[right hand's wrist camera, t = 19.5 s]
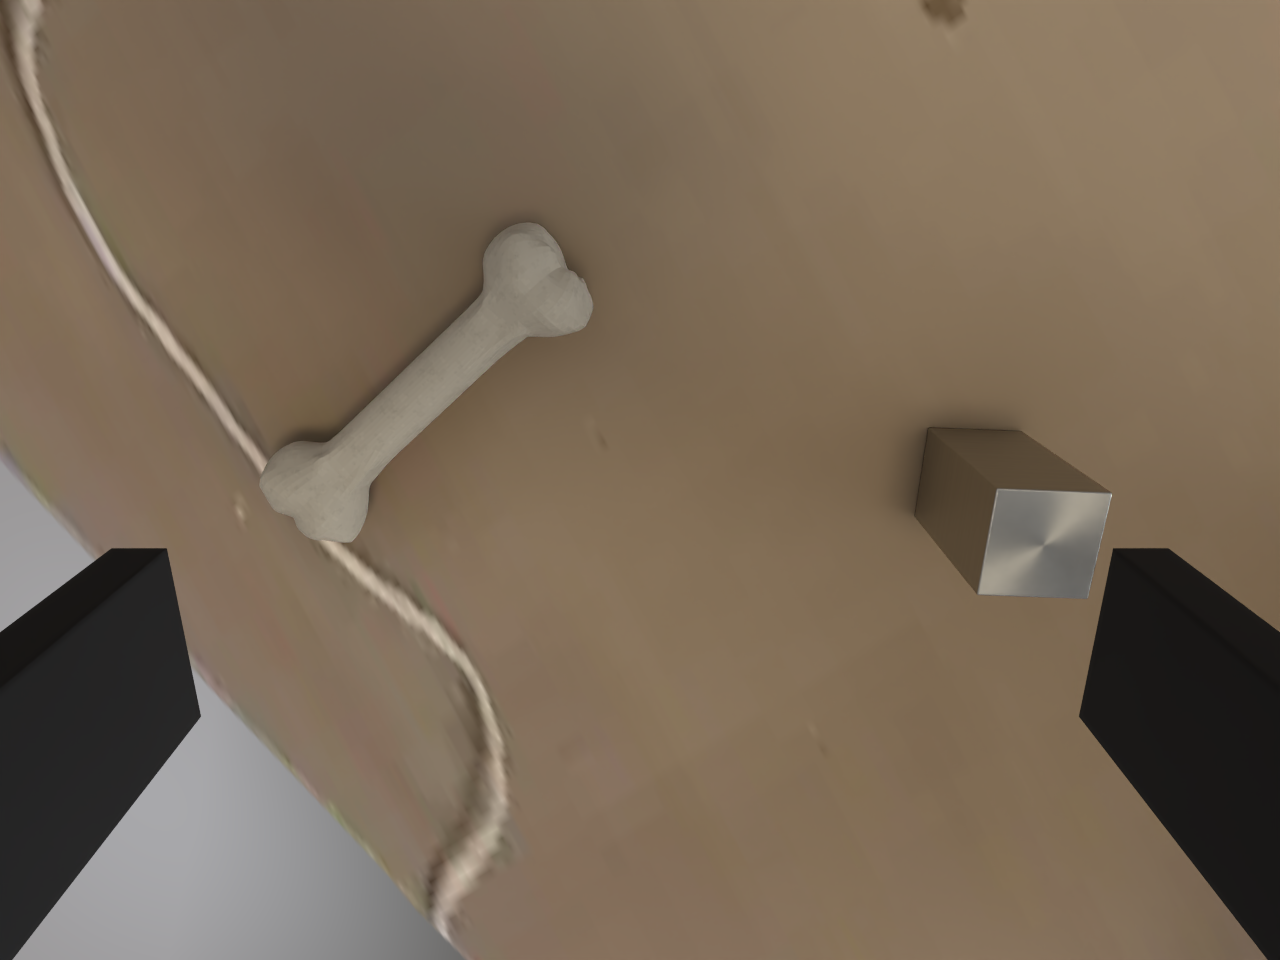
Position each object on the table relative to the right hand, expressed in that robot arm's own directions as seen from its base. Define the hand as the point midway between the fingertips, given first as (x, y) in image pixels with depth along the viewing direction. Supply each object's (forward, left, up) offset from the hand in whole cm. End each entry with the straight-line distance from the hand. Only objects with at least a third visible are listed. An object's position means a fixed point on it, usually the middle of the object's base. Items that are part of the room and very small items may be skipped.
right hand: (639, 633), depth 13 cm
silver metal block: (+17, +12, -35) cm, 41 cm away
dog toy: (-1, -12, -35) cm, 37 cm away
